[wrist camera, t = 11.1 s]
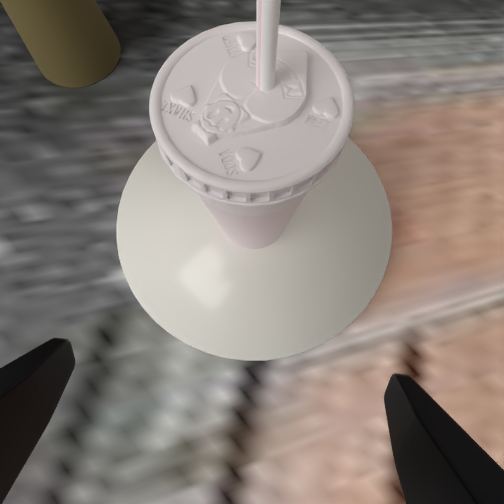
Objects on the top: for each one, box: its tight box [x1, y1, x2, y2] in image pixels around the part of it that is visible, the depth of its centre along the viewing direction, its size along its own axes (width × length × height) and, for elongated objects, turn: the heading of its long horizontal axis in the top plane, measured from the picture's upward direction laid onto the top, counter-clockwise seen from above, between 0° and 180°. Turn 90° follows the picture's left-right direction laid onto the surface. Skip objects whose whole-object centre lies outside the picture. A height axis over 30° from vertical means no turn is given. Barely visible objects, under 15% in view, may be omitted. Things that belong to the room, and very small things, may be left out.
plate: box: [116, 137, 392, 360], centre depth 20 cm, size 16×16×1 cm
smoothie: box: [149, 0, 354, 249], centre depth 13 cm, size 6×6×14 cm
